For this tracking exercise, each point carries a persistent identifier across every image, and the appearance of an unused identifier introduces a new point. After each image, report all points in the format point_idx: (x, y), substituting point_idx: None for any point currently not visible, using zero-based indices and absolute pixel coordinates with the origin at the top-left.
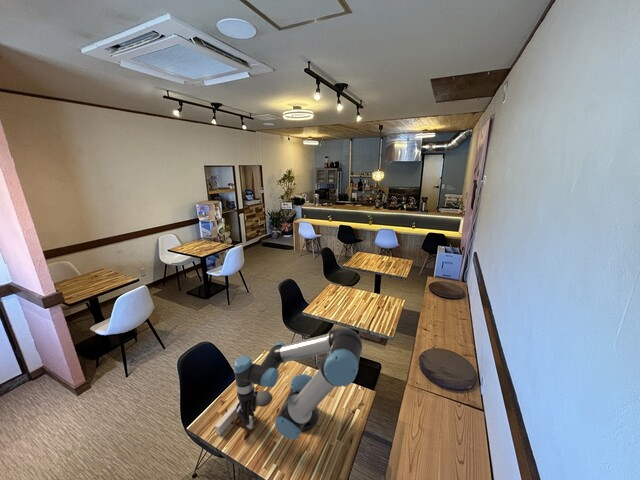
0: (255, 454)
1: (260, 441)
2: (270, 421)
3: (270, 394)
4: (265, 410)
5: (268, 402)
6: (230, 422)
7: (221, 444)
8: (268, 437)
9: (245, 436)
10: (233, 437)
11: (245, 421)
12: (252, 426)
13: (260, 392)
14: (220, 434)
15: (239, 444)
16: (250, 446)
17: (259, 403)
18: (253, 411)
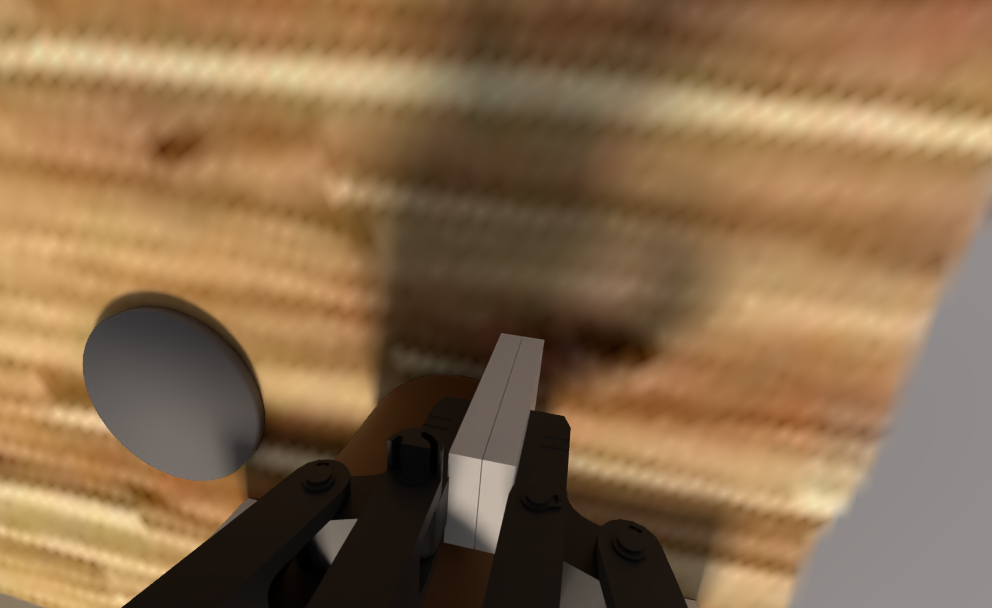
0: (821, 95)
1: (622, 136)
2: (337, 160)
3: (91, 341)
4: (262, 299)
5: (171, 314)
6: None
7: (781, 550)
8: (533, 52)
9: (622, 359)
10: (674, 475)
11: (644, 557)
12: (509, 343)
13: (142, 450)
14: (686, 603)
15: (734, 376)
16: (725, 232)
17: (236, 403)
18: (355, 481)
